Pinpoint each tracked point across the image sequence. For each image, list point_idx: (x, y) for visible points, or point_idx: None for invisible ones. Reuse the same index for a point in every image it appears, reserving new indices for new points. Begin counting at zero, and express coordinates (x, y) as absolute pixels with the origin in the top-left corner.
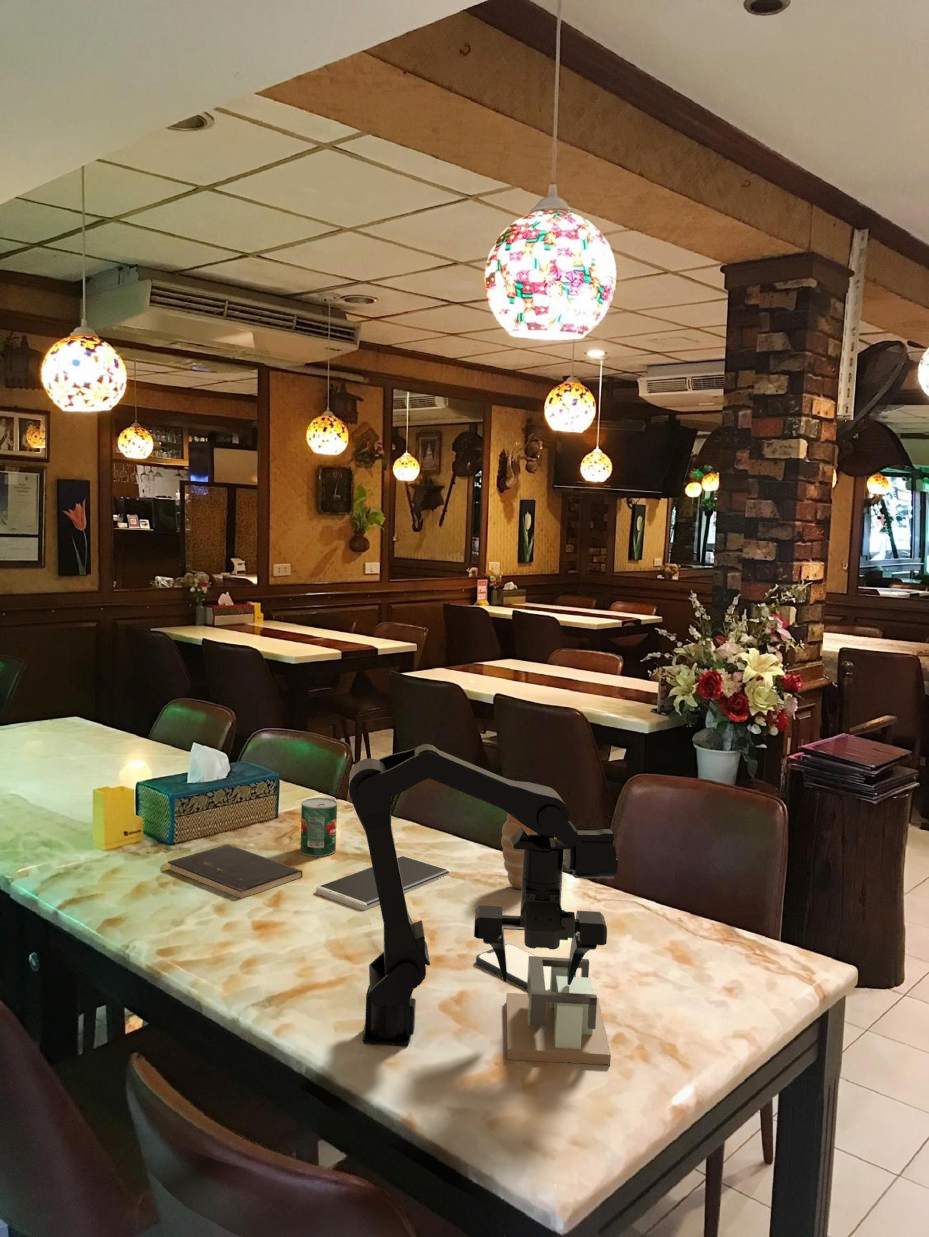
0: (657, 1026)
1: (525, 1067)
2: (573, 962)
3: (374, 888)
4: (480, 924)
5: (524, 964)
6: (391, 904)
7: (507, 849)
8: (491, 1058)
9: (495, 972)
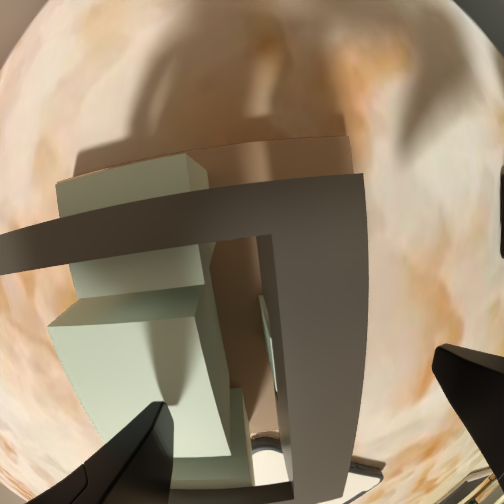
0: (27, 365)
1: (286, 111)
2: (101, 482)
3: (450, 501)
4: None
5: None
6: None
7: None
8: (374, 141)
9: (355, 465)
